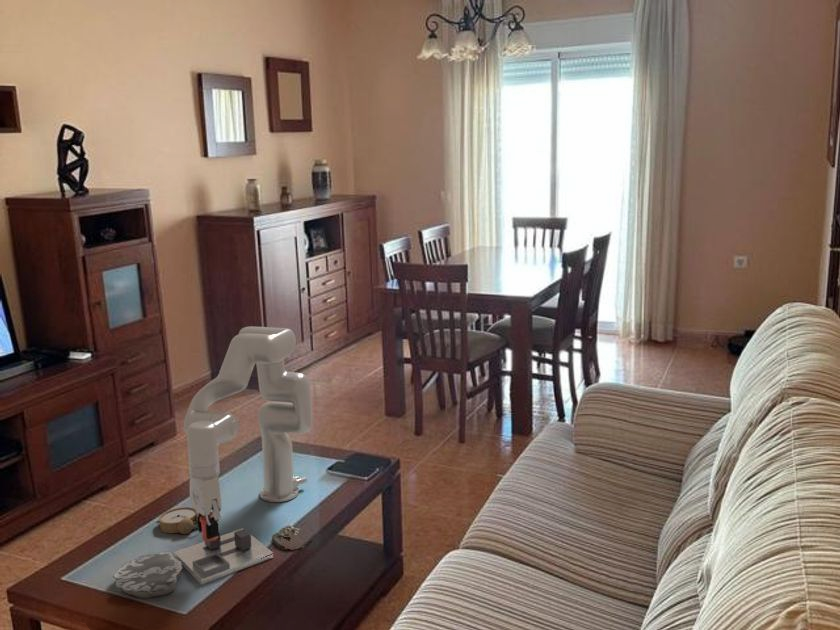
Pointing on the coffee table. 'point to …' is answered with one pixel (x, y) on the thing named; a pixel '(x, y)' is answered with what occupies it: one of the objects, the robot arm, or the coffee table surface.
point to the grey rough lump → (286, 532)
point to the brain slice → (149, 575)
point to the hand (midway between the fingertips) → (208, 532)
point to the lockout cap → (203, 524)
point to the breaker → (242, 539)
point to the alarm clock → (179, 520)
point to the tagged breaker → (213, 543)
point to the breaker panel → (221, 558)
